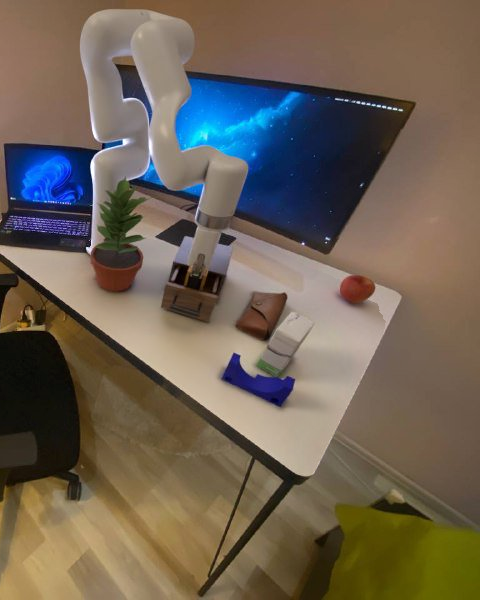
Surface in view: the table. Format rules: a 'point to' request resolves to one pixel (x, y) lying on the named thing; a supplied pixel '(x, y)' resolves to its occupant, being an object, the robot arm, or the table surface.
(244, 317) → the sunglasses case
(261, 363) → the ink box
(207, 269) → the block
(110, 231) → the potted plant
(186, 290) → the drawer
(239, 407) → the table surface
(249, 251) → the table surface
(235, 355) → the blue cradle holder
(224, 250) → the cabinet
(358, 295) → the apple
